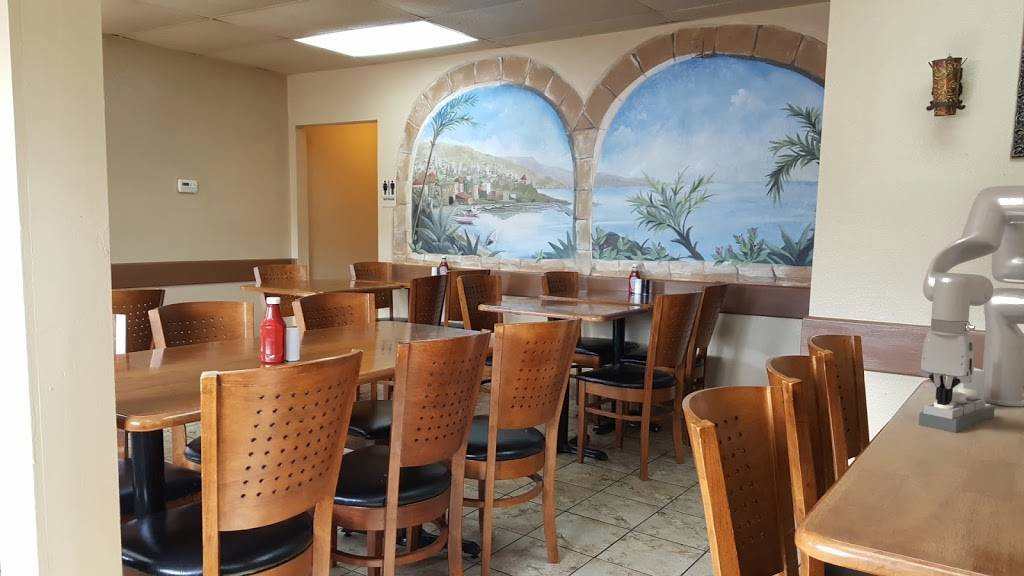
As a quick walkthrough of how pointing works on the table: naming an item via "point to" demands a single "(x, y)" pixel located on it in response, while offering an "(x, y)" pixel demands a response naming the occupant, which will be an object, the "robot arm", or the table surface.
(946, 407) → the button
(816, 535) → the table surface
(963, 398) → the button middle
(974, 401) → the button board
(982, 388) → the small box
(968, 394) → the button
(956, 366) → the robot arm
